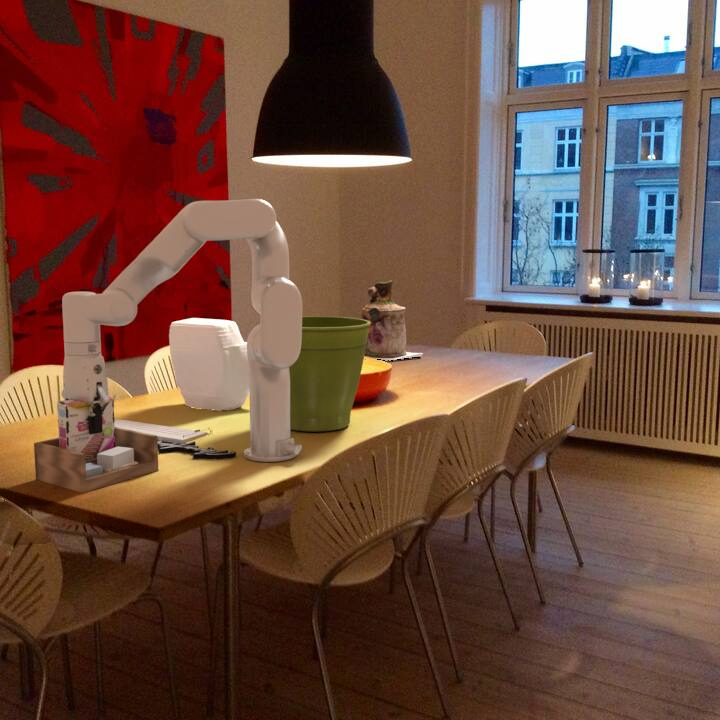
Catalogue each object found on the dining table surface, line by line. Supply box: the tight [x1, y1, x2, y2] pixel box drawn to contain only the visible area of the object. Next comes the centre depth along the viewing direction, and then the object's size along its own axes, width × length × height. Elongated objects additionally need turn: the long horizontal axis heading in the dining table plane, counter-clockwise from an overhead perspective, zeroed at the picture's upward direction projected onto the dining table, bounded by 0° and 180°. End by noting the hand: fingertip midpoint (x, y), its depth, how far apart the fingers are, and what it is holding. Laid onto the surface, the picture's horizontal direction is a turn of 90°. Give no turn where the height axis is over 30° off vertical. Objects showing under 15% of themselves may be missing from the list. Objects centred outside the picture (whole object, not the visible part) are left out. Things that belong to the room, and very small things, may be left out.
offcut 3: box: [103, 461, 138, 474], centre depth 187 cm, size 4×8×3 cm, turn 145°
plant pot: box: [289, 315, 370, 433], centre depth 233 cm, size 30×30×29 cm
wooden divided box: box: [33, 427, 159, 494], centre depth 187 cm, size 16×20×8 cm
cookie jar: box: [360, 280, 424, 362], centre depth 356 cm, size 25×25×32 cm
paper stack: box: [168, 317, 250, 411], centre depth 256 cm, size 21×27×26 cm
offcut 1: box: [86, 463, 103, 478], centre depth 181 cm, size 4×4×4 cm
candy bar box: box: [56, 396, 115, 461], centre depth 188 cm, size 11×5×16 cm, turn 133°
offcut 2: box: [97, 446, 134, 470], centre depth 186 cm, size 4×7×3 cm, turn 157°
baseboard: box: [114, 418, 212, 443], centre depth 228 cm, size 31×3×12 cm
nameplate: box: [157, 439, 237, 460], centre depth 208 cm, size 27×2×10 cm
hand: (86, 430), depth 188 cm, fingers closed on candy bar box, 5 cm apart
